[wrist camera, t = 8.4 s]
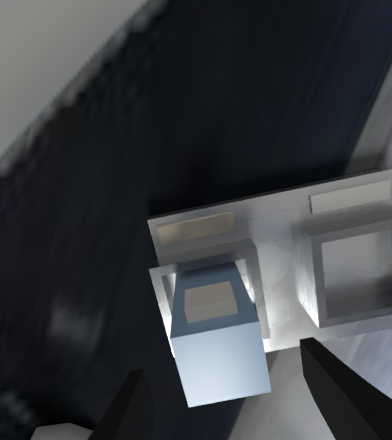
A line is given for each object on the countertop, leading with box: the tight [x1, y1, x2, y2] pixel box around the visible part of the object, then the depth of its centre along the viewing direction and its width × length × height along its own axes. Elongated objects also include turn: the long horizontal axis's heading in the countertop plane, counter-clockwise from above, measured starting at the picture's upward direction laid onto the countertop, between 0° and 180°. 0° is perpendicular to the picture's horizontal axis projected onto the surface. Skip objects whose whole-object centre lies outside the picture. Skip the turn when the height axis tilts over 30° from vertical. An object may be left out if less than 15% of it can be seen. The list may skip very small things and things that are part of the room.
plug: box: [170, 261, 271, 407], centre depth 15 cm, size 4×5×6 cm
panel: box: [147, 167, 392, 357], centre depth 17 cm, size 17×12×3 cm
